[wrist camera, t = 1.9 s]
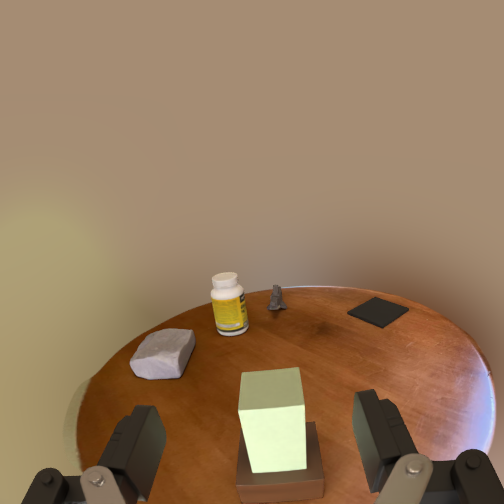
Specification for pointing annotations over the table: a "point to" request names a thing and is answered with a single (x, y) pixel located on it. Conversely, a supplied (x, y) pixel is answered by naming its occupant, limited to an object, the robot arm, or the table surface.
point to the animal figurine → (276, 299)
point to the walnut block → (282, 476)
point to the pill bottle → (229, 304)
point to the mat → (378, 312)
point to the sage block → (273, 419)
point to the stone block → (163, 354)
